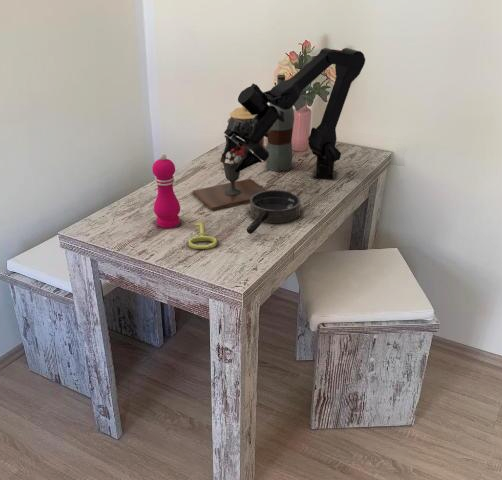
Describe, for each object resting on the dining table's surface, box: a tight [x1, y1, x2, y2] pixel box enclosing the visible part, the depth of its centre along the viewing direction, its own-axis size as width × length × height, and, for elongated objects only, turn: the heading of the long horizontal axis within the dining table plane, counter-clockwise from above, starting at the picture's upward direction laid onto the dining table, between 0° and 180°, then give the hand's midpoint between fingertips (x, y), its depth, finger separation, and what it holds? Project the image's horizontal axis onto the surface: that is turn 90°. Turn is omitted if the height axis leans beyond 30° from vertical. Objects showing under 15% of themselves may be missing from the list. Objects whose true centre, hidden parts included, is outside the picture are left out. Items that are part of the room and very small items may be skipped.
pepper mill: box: [151, 153, 181, 229], centre depth 155 cm, size 7×7×20 cm
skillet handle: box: [246, 211, 268, 235], centre depth 154 cm, size 12×2×2 cm, turn 156°
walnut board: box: [192, 178, 268, 211], centre depth 176 cm, size 20×14×1 cm
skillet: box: [249, 189, 302, 224], centre depth 164 cm, size 14×14×4 cm
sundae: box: [220, 144, 242, 195], centre depth 172 cm, size 7×7×15 cm
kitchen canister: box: [227, 105, 265, 158], centre depth 203 cm, size 13×13×18 cm
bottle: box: [265, 74, 295, 172], centre depth 188 cm, size 9×9×30 cm
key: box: [188, 220, 218, 250], centre depth 152 cm, size 7×12×2 cm, turn 23°
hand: (228, 166), depth 171 cm, fingers open, 9 cm apart
